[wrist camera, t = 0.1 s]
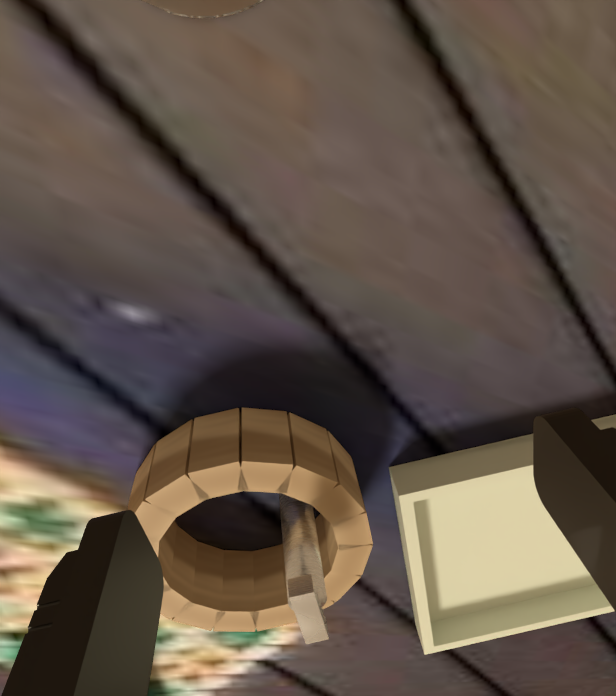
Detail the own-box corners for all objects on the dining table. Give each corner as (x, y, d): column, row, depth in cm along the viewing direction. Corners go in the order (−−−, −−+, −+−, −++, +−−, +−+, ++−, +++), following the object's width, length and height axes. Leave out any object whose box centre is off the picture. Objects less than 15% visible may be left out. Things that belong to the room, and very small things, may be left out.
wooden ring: (97, 440, 30) (76, 499, 26) (335, 384, 30) (349, 435, 26) (177, 588, 37) (170, 651, 34) (370, 543, 37) (385, 601, 33)
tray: (388, 467, 34) (398, 495, 32) (657, 404, 34) (686, 429, 32) (415, 623, 43) (424, 654, 41) (627, 575, 43) (648, 603, 41)
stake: (271, 468, 33) (280, 599, 25) (302, 460, 33) (321, 590, 25) (285, 511, 35) (298, 646, 27) (315, 504, 35) (336, 637, 27)
